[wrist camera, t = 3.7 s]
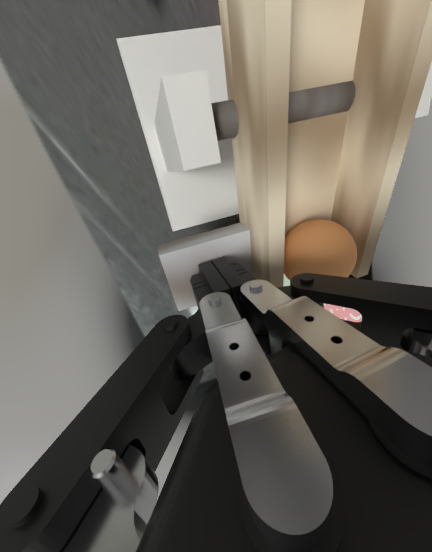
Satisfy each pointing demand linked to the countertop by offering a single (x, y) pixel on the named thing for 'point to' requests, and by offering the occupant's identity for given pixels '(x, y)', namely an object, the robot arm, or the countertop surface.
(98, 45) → the countertop surface
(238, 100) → the tipping chute
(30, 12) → the countertop surface
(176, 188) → the pivot stand
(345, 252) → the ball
